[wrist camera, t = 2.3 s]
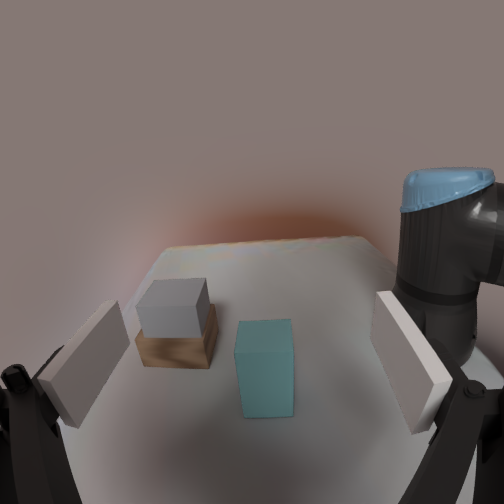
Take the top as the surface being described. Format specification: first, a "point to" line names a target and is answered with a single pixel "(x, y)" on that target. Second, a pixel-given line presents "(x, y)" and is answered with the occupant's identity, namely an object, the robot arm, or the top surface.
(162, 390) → the top surface
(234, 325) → the top surface
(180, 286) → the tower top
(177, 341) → the tower base
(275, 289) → the top surface
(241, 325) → the column block
